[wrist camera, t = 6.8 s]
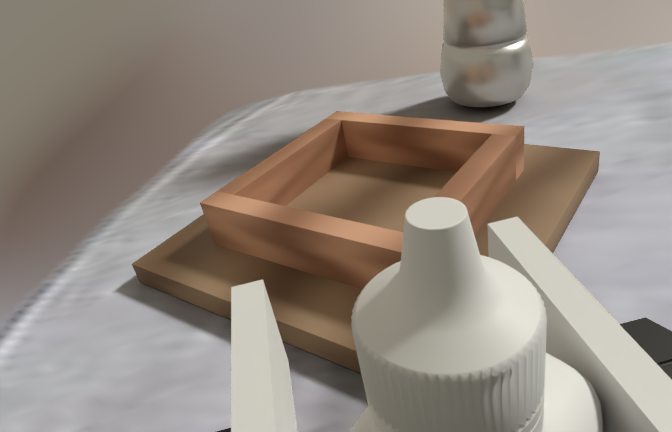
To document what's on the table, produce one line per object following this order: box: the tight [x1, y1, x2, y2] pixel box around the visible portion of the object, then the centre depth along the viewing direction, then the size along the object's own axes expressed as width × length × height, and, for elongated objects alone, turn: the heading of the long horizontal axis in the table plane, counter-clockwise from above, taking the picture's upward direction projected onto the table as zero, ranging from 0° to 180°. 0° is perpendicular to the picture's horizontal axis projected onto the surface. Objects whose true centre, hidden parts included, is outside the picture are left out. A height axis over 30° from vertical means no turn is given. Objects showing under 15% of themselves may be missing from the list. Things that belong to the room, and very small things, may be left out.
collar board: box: [132, 111, 600, 373], centre depth 28 cm, size 18×18×4 cm
